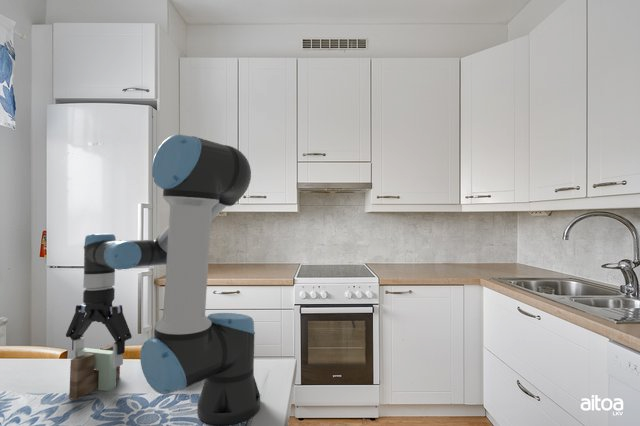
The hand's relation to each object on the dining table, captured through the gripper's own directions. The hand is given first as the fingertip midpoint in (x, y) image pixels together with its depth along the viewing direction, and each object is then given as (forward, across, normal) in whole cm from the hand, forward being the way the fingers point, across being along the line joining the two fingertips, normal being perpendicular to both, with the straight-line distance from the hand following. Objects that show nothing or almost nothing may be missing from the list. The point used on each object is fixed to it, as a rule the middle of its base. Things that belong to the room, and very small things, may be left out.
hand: (97, 364), depth 97 cm
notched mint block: (+6, +1, 0) cm, 6 cm away
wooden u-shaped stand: (+6, +1, 0) cm, 6 cm away
